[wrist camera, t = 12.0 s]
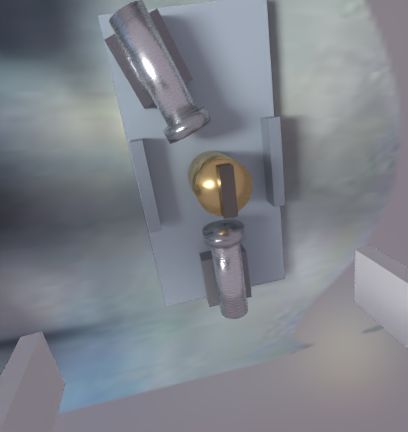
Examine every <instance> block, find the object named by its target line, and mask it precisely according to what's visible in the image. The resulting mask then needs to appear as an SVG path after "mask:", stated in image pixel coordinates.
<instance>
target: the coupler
mask: <svg viewBox="0 0 408 432" xmlns="http://www.w3.org/2000/svg"><path fill="white" fill-rule="evenodd" d="M188 182H189V184H190V186H191V188H192V190H193V192H194V193H195V195H196V197H197V199H198V200H199V202H200V204H201V205H202V207H203V208H204V209H205V210H206V211H208V212H209V213H211V214H214V215H217V216H223V217H224V219H227V218H233V217H238V211H240V210H241V209H242V208H243V207H244V206H245V205H246V204H247V203H248V201H249V199H250V197H251V194H252V188H253V184H252V179H251V176H250V174H249V172H248V170H247V169H246V168H245V167H244V166H243V165H241V164H240V163H238V162H236V161H235V160H233V159H231V158H230V157H228V156H226V155H225V154H223V153H221V152H218V151H206V152H203V153H201V154H199V155H198V156H197V157H195V158H194V160H193V161H192V162H191V164H190V166H189V169H188Z"/></svg>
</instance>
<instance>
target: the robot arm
mask: <svg viewBox="0 0 408 432" xmlns="http://www.w3.org/2000/svg"><path fill="white" fill-rule="evenodd" d="M354 290H355V291H354V302H355V303H356V304H357V305H359V306H360V307H361V308H362V309H363V310H364V311H365V312H366V313H368V314H369V315H370V316H371V317H372V318H373V319H374V320H375V321H377V322H378V323H379V324H380V325H381V326H382V327H383V328H385V329H386V330H387V331H388V332H389V333H390V334H391V335H392V336H394V337H395V338H396V339H397V340H398V341H399V342H400V343H401V344H403V345H404V346H405V347H406V348H407V349H408V267H407V266H405V265H404V264H402V263H400V262H398V261H397V260H395V259H393V258H392V257H390V256H388V255H386V254H385V253H383V252H381V251H379V250H378V249H376V248H374V247H373V246H367V247H363V248H359V249H356V250H355V289H354ZM64 387H65V383H64V380H63V378H62V376H61V373H60V371H59V369H58V367H57V364H56V362H55V360H54V358H53V355H52V353H51V351H50V348H49V346H48V344H47V342H46V339H45V337H44V335H43V333H42V331H41V332H37V333H33V334H29V335H25V336H22V337H20V339H19V341H18V343H17V345H16V347H15V349H14V351H13V353H12V355H11V357H10V359H9V361H8V363H7V365H6V367H5V369H4V371H3V372H2V374H1V376H0V432H53V430H54V426H55V422H56V418H57V415H58V411H59V407H60V403H61V399H62V395H63V391H64Z"/></svg>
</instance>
